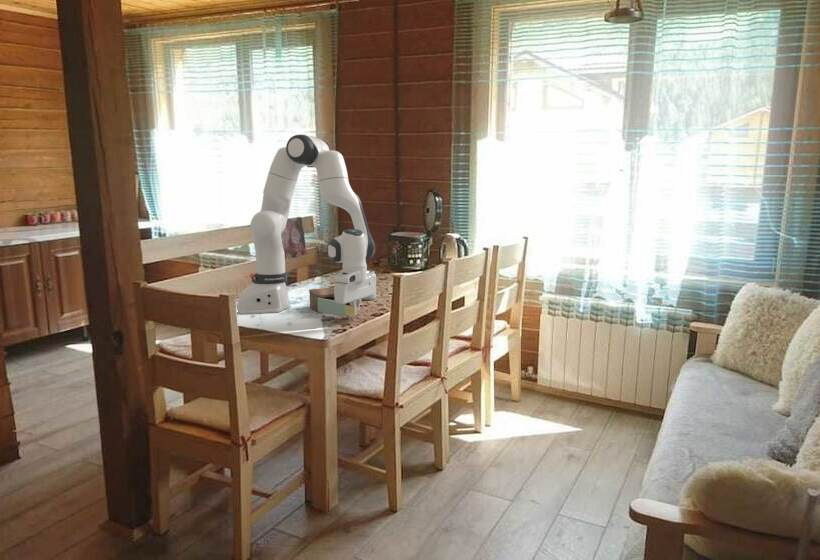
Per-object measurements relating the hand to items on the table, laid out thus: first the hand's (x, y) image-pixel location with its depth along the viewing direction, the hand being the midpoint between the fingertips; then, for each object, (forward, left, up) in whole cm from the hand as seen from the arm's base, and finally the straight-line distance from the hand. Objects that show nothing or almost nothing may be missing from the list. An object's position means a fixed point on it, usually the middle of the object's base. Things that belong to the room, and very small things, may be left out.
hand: (355, 311), depth 230 cm
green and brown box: (-4, +21, -3) cm, 22 cm away
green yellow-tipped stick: (-11, +15, -3) cm, 18 cm away
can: (+15, +32, -3) cm, 36 cm away
